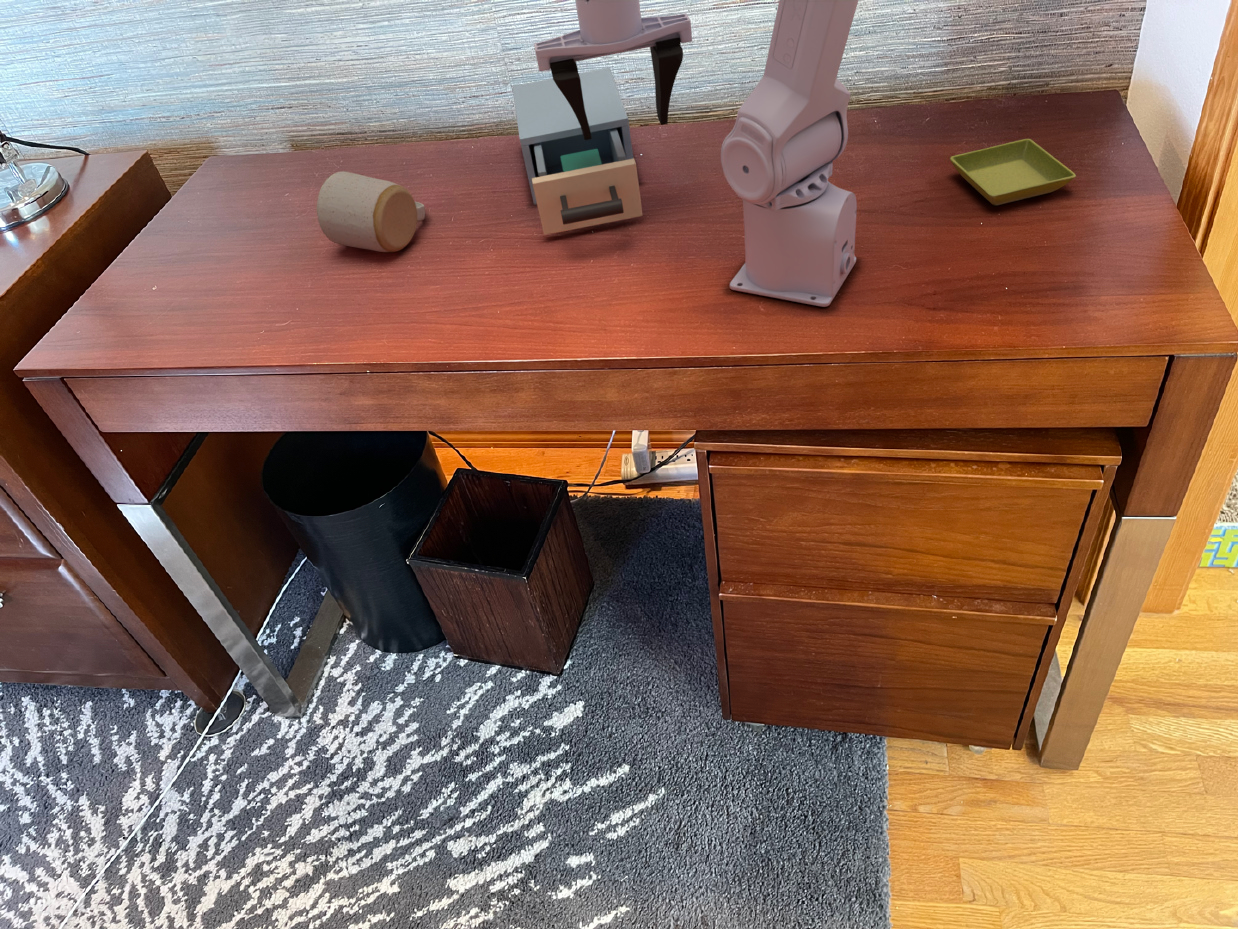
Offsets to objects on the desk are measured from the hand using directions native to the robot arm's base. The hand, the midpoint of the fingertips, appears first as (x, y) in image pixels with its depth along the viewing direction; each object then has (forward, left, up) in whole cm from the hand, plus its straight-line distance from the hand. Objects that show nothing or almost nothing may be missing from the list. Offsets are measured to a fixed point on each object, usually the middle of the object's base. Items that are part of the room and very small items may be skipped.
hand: (624, 127), depth 89 cm
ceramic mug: (+25, +13, -9) cm, 29 cm away
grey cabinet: (+12, -7, -9) cm, 16 cm away
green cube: (+5, +2, -7) cm, 9 cm away
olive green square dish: (-34, -14, -9) cm, 38 cm away
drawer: (+5, +2, -8) cm, 10 cm away
